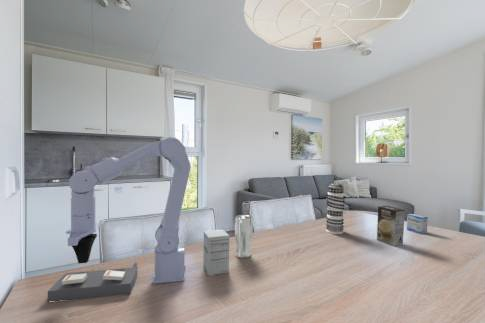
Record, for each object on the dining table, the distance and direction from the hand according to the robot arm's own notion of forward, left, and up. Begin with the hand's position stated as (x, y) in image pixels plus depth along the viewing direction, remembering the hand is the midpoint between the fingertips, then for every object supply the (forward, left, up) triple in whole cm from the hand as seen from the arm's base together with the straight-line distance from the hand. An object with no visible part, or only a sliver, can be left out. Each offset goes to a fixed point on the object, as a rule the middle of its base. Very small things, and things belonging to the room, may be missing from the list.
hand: (83, 262), depth 69 cm
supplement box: (-38, -6, -9) cm, 40 cm away
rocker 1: (+2, +1, -4) cm, 5 cm away
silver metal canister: (-50, -16, -9) cm, 53 cm away
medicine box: (-148, -28, -9) cm, 151 cm away
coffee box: (-120, -17, -9) cm, 122 cm away
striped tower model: (-104, -36, -9) cm, 110 cm away
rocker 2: (-8, +1, -4) cm, 9 cm away
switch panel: (-3, -5, -8) cm, 10 cm away
